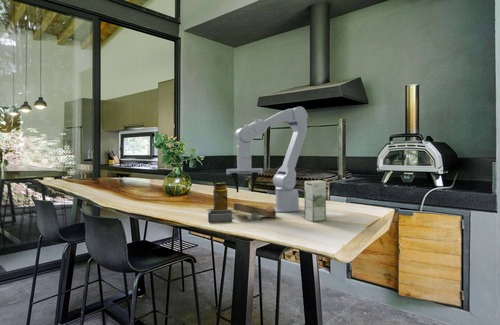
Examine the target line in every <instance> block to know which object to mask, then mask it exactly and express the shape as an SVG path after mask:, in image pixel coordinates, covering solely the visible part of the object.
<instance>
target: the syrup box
mask: <svg viewBox="0 0 500 325" xmlns="http://www.w3.org/2000/svg"><path fill="white" fill-rule="evenodd" d="M326 206H327V182H326V181H324V180H320V179H317V180H316V179H315V180H314V179H313V180H305V181H304V220H306V219H307V221H309V222H312V223H315V222H323V221H326V220H327V217H326V216H327V210H326V208H327V207H326Z"/></svg>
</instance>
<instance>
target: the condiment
mask: <svg viewBox="0 0 500 325" xmlns="http://www.w3.org/2000/svg"><path fill="white" fill-rule="evenodd" d="M213 184H214V185H213V188H214V189H213V192H212V194H213V208H209V209H211V210H230V209H229V208H228V205H229V204H228V189H227V183H226V182H215V183H213ZM209 209H206V210H207V211H208V212H209Z"/></svg>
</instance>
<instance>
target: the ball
mask: <svg viewBox="0 0 500 325" xmlns="http://www.w3.org/2000/svg"><path fill="white" fill-rule="evenodd" d="M265 209H266V211H267V212H272V213H273V212H274V210H275V209H274V207H273V206H271V205H268V206H266V208H265Z"/></svg>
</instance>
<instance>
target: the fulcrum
mask: <svg viewBox="0 0 500 325" xmlns="http://www.w3.org/2000/svg"><path fill="white" fill-rule="evenodd" d="M246 216H247V221H262V220H263V219H262V216H261V215H257V212H253V214H251V213H250V214H247V215H246Z"/></svg>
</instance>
